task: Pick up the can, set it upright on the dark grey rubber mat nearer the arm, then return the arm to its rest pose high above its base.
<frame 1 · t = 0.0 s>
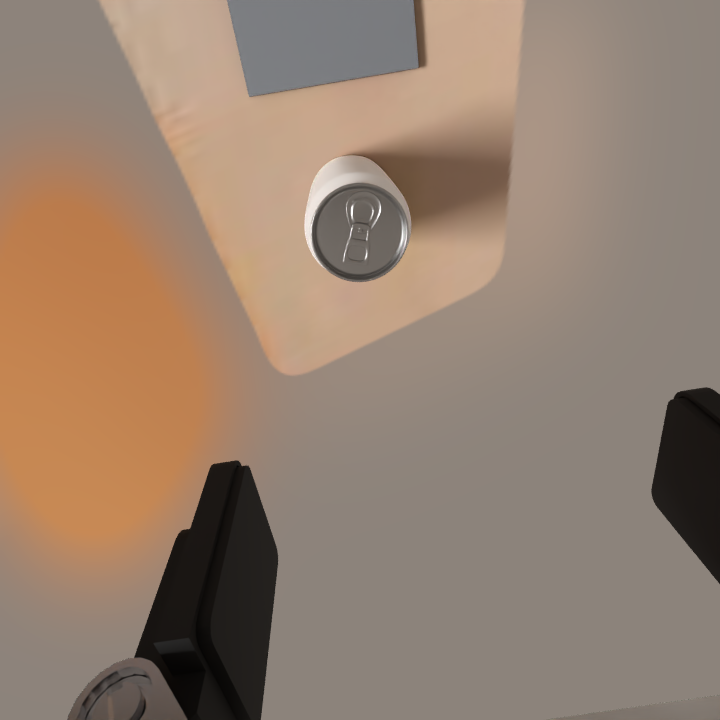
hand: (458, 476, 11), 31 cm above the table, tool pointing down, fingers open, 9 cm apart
can: (350, 198, 38), on the table
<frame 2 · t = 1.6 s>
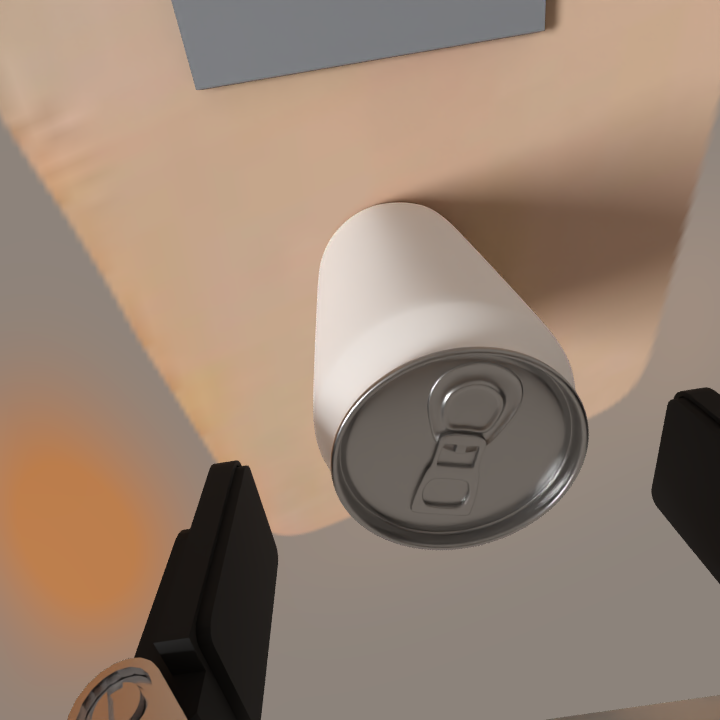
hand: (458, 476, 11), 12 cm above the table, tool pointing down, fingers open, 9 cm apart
can: (392, 274, 21), on the table
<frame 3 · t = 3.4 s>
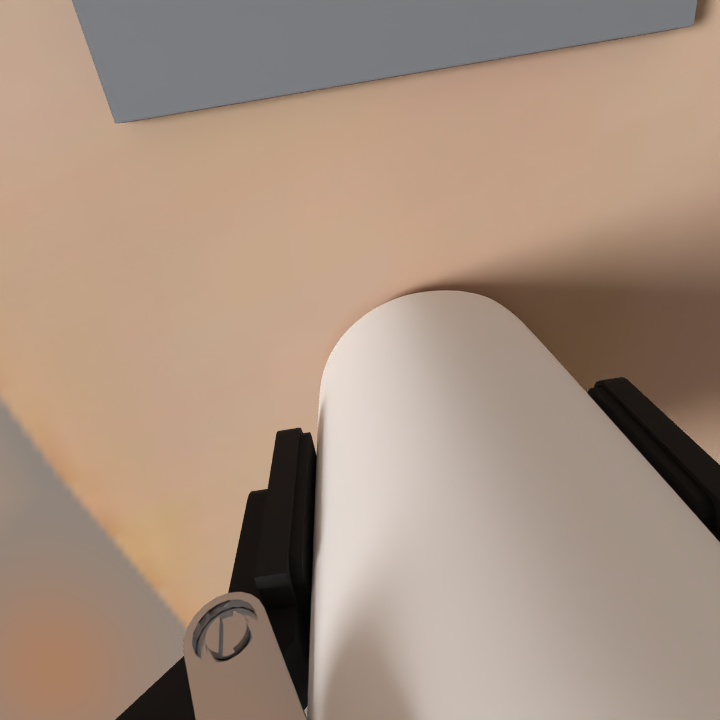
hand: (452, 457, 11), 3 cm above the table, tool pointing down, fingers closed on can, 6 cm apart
can: (427, 384, 14), on the table, touching gripper
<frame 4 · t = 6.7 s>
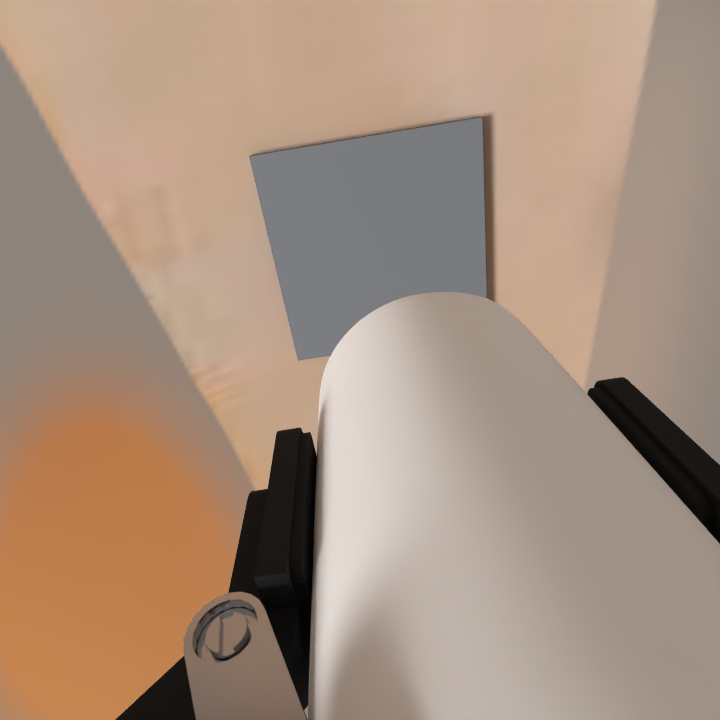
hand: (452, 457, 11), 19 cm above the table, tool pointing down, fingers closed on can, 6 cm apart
mat: (379, 249, 28), on the table
can: (427, 385, 14), point 15 cm above the table, touching gripper
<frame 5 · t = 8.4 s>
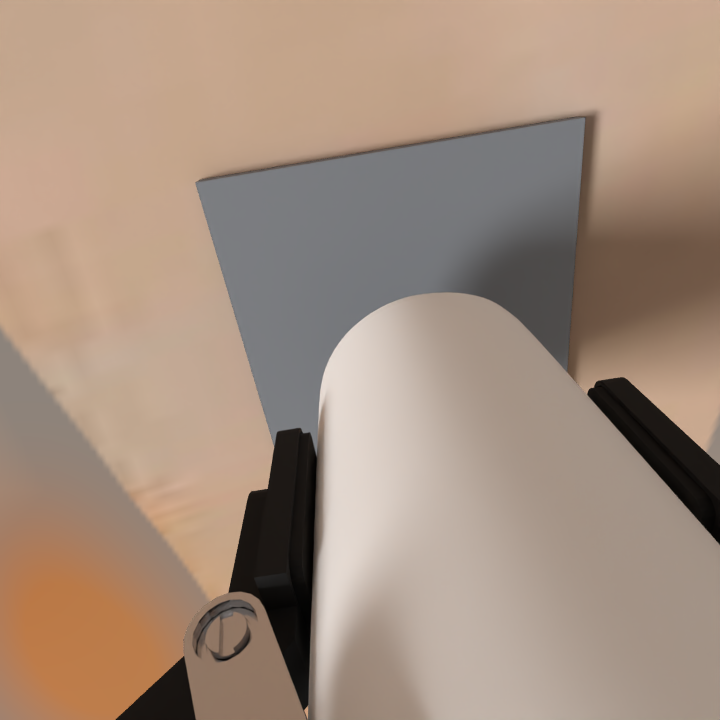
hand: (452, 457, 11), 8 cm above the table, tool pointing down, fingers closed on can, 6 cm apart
mat: (405, 320, 18), on the table
can: (428, 386, 14), point 4 cm above the table, touching gripper
when the fingers open (5 cm above the table, at t = 9.9 s): can drops 1 cm, resting on mat.
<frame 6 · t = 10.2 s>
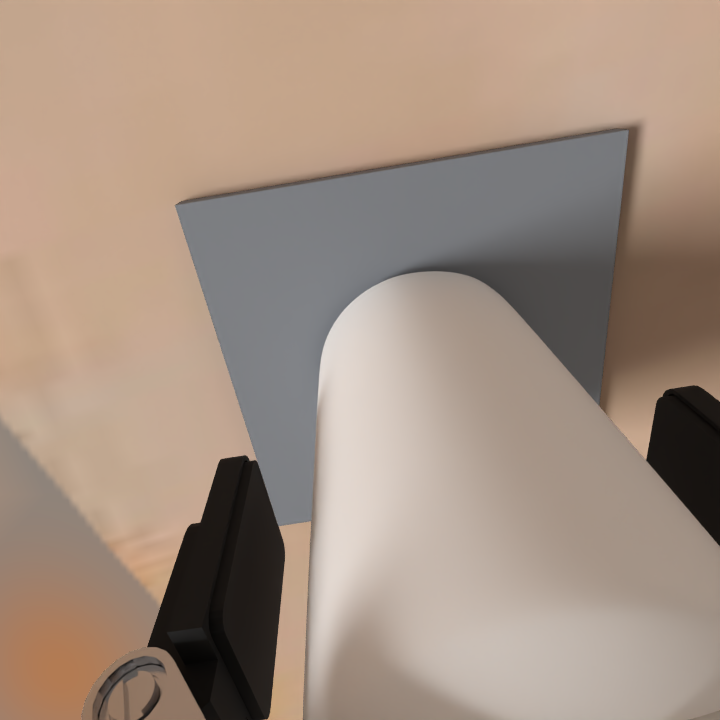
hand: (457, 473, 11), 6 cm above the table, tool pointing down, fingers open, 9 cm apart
mat: (417, 357, 16), on the table
can: (420, 360, 15), resting on mat
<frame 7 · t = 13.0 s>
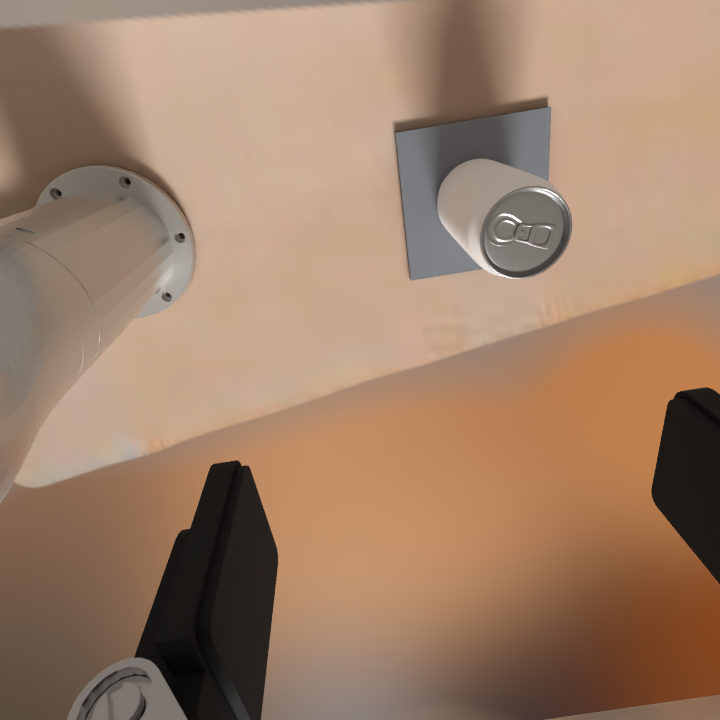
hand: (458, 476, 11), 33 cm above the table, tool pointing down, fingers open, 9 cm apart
mat: (473, 198, 40), on the table
can: (473, 199, 40), resting on mat
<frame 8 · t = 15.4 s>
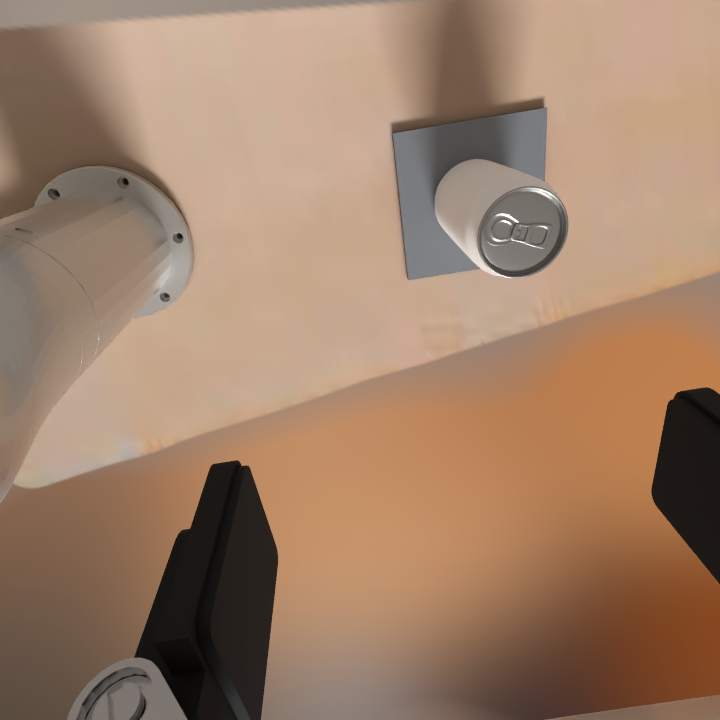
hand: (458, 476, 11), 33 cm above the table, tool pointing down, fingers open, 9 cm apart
mat: (470, 199, 40), on the table
can: (470, 199, 40), resting on mat
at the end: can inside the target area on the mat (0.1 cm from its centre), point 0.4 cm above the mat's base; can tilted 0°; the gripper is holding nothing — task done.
